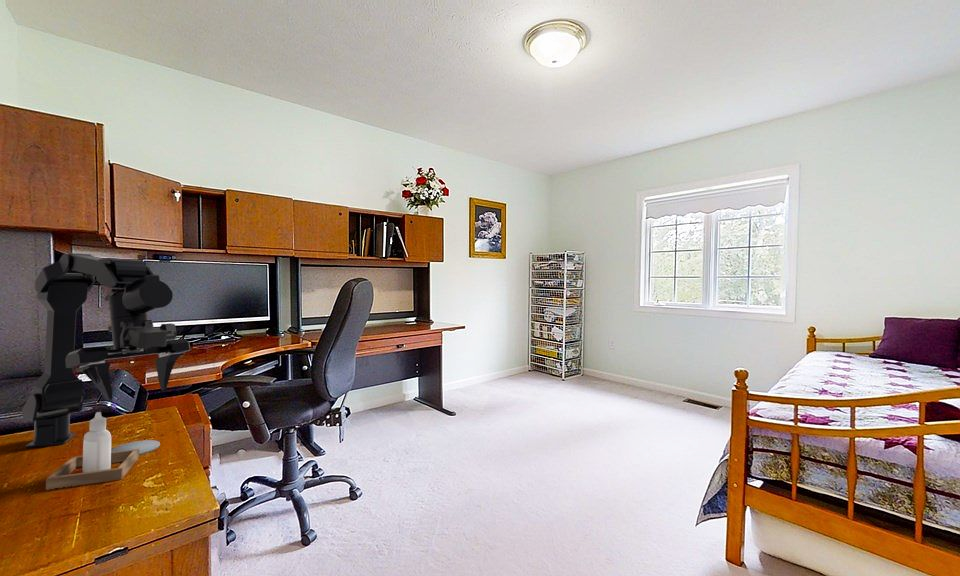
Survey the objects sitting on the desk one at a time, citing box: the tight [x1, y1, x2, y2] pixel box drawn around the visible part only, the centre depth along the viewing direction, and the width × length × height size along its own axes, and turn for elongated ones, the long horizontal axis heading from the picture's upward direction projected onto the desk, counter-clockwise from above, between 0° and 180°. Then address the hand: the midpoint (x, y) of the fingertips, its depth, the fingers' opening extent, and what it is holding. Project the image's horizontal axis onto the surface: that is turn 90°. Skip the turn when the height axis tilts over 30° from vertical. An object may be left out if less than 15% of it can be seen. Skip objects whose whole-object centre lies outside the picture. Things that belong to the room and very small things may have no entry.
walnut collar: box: [45, 449, 140, 491], centre depth 80 cm, size 11×11×2 cm
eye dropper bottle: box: [82, 411, 112, 473], centre depth 80 cm, size 4×6×12 cm
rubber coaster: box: [111, 439, 161, 456], centre depth 91 cm, size 9×9×1 cm
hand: (138, 394), depth 81 cm, fingers open, 9 cm apart
